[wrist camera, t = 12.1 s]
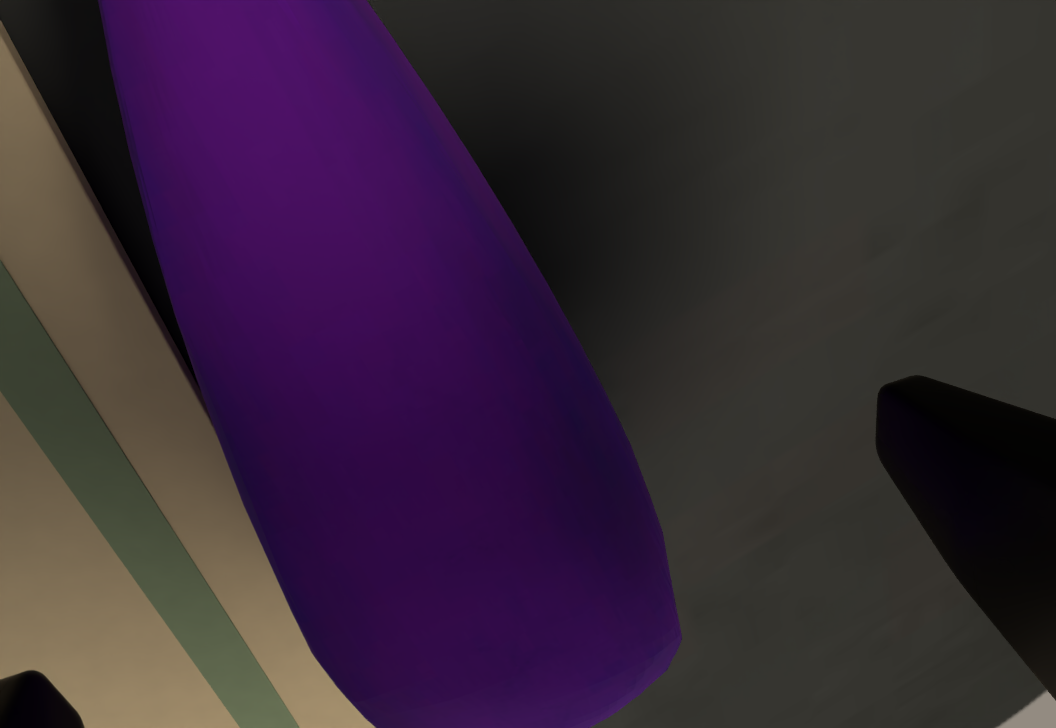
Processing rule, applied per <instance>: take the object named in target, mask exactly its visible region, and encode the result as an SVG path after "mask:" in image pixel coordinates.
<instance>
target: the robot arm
mask: <svg viewBox="0 0 1056 728" xmlns="http://www.w3.org/2000/svg"><path fill="white" fill-rule="evenodd" d="M876 449H877V453H878V456H879V458H880V461H881V463H882V464H883V466H884V468H885V469H886V471H887V472H888V474H889V475H890V477H891V478H892V480H893V482H894V483H895V485H896V486H897V488H898V489H899V491H900V492H901V494H902V495H903V497H904V499H905V500H906V502H907V503H908V505H909V506H910V508H911V509H912V511H913V512H914V514H915V515H916V517H917V519H918V520H919V522H920V523H921V525H922V526H923V528H924V529H925V531H926V532H927V534H928V536H929V537H930V539H931V540H932V542H933V543H934V545H935V546H936V548H937V549H938V551H939V552H940V554H941V556H942V557H943V559H944V560H945V562H946V563H947V565H948V566H949V567H950V569H951V570H952V572H953V573H954V575H955V576H956V578H957V579H958V580H959V581H960V583H961V584H962V585H963V587H964V588H965V589H966V591H967V592H968V593H969V594H970V596H971V597H972V598H973V599H974V601H975V602H976V603H977V604H978V606H979V607H980V608H981V609H982V611H983V612H984V613H985V614H986V615H987V617H988V618H989V619H990V620H991V622H992V623H993V624H994V625H995V626H996V628H997V629H998V630H999V631H1000V633H1001V634H1002V635H1003V636H1004V638H1005V639H1006V640H1007V641H1008V642H1009V644H1010V645H1011V646H1012V647H1013V649H1014V650H1015V651H1016V652H1017V654H1018V655H1019V656H1020V657H1021V658H1022V660H1023V661H1024V662H1025V663H1026V665H1027V666H1028V667H1029V668H1030V670H1031V671H1032V672H1033V673H1034V674H1035V676H1036V677H1037V678H1038V679H1039V681H1040V682H1041V683H1042V684H1043V685H1044V687H1045V688H1046V689H1047V690H1048V692H1049V693H1050V694H1051V695H1052V697H1053V698H1054V699H1055V700H1056V419H1054V418H1051V417H1048V416H1044V415H1041V414H1038V413H1035V412H1032V411H1029V410H1026V409H1023V408H1020V407H1017V406H1014V405H1011V404H1008V403H1005V402H1001V401H998V400H995V399H992V398H989V397H986V396H983V395H980V394H977V393H974V392H971V391H968V390H965V389H962V388H959V387H955V386H952V385H949V384H946V383H943V382H940V381H937V380H934V379H931V378H928V377H924V376H920V375H914V376H909V377H906V378H903V379H900V380H897V381H894V382H891V383H888V384H886V385H884V386H883V387H881V389H880V391H879V393H878V398H877V417H876ZM0 728H85V727H84V724H83V721H82V719H81V717H80V715H79V714H78V712H77V711H76V710H75V709H74V707H73V706H72V705H71V704H70V703H69V702H68V701H67V700H66V699H65V697H64V696H63V695H62V694H61V693H60V692H59V691H58V690H57V688H56V687H55V686H54V685H53V684H52V683H51V682H50V681H49V679H48V678H47V677H46V676H45V675H44V674H42V673H41V672H38V671H36V670H27V671H24V672H21V673H18V674H15V675H12V676H9V677H6V678H3V679H0Z"/></svg>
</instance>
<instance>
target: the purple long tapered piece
mask: <svg viewBox="0 0 1056 728" xmlns="http://www.w3.org/2000/svg"><path fill="white" fill-rule="evenodd" d="M98 4H99V9H100V14H101V19H102V24H103V29H104V35H105V40H106V46H107V51H108V57H109V62H110V68H111V72H112V77H113V81H114V86H115V90H116V94H117V99H118V103H119V108H120V112H121V117H122V121H123V126H124V130H125V134H126V139H127V143H128V148H129V152H130V157H131V160H132V164H133V168H134V172H135V175H136V179H137V183H138V187H139V191H140V194H141V198H142V202H143V206H144V210H145V213H146V217H147V221H148V225H149V229H150V232H151V236H152V240H153V243H154V247H155V250H156V253H157V257H158V260H159V263H160V267H161V270H162V273H163V277H164V280H165V284H166V287H167V290H168V294H169V297H170V300H171V304H172V307H173V311H174V314H175V317H176V320H177V322H178V325H179V328H180V331H181V334H182V337H183V340H184V343H185V346H186V349H187V352H188V355H189V358H190V361H191V364H192V367H193V370H194V373H195V376H196V379H197V381H198V384H199V387H200V390H201V393H202V395H203V398H204V401H205V404H206V406H207V409H208V412H209V415H210V417H211V420H212V423H213V426H214V428H215V431H216V434H217V437H218V440H219V442H220V445H221V448H222V450H223V453H224V456H225V458H226V461H227V463H228V466H229V469H230V471H231V474H232V476H233V479H234V482H235V484H236V487H237V489H238V492H239V495H240V497H241V500H242V502H243V505H244V507H245V510H246V512H247V514H248V516H249V518H250V521H251V523H252V525H253V527H254V530H255V532H256V534H257V536H258V538H259V541H260V543H261V545H262V547H263V550H264V552H265V554H266V556H267V558H268V561H269V563H270V565H271V567H272V570H273V572H274V574H275V576H276V579H277V581H278V583H279V585H280V587H281V590H282V592H283V594H284V596H285V599H286V601H287V603H288V605H289V607H290V610H291V612H292V614H293V616H294V618H295V620H296V622H297V624H298V626H299V628H300V630H301V632H302V634H303V636H304V638H305V640H306V643H307V645H308V647H309V649H310V651H311V653H312V654H313V656H314V657H315V659H316V660H317V661H318V663H319V664H320V665H321V667H322V668H323V669H324V671H325V672H326V673H327V675H328V676H329V677H330V678H331V680H332V681H333V682H334V684H335V685H336V686H337V688H338V689H339V690H340V691H341V692H342V694H343V695H344V696H345V697H346V698H347V699H348V700H349V701H350V702H351V703H352V705H353V706H354V707H355V708H356V709H357V710H358V711H359V712H360V713H361V714H362V715H363V717H364V718H365V719H366V720H367V721H369V722H370V723H371V724H372V725H373V726H374V727H376V728H590V727H592V726H594V725H595V724H597V723H599V722H601V721H603V720H604V719H606V718H608V717H610V716H611V715H613V714H614V713H616V712H617V711H618V710H620V709H621V708H622V707H624V706H625V705H626V704H627V703H629V702H630V701H631V700H633V699H634V698H636V697H637V696H638V695H640V694H641V693H642V692H643V691H644V690H645V689H646V688H647V687H648V686H649V685H650V684H652V683H653V682H654V681H655V680H656V679H657V678H658V677H659V676H661V675H662V674H663V673H664V672H665V671H666V670H667V669H668V667H669V665H670V662H671V660H672V659H673V657H674V655H675V654H676V652H677V649H678V647H679V645H680V643H681V640H682V635H681V629H680V624H679V619H678V614H677V609H676V604H675V599H674V593H673V588H672V583H671V577H670V572H669V566H668V560H667V554H666V549H665V543H664V537H663V532H662V529H661V526H660V523H659V520H658V518H657V515H656V512H655V509H654V506H653V503H652V500H651V497H650V495H649V492H648V490H647V487H646V484H645V482H644V479H643V476H642V474H641V471H640V468H639V466H638V463H637V460H636V458H635V455H634V452H633V450H632V447H631V445H630V442H629V440H628V438H627V436H626V434H625V432H624V430H623V428H622V426H621V424H620V421H619V419H618V417H617V415H616V413H615V411H614V409H613V407H612V405H611V403H610V401H609V398H608V396H607V394H606V392H605V390H604V388H603V387H602V385H601V383H600V381H599V379H598V377H597V375H596V373H595V371H594V369H593V367H592V366H591V364H590V362H589V360H588V358H587V356H586V354H585V352H584V350H583V348H582V346H581V344H580V342H579V340H578V338H577V336H576V334H575V333H574V331H573V329H572V327H571V326H570V324H569V322H568V320H567V318H566V317H565V315H564V313H563V311H562V309H561V307H560V306H559V304H558V302H557V300H556V298H555V297H554V295H553V293H552V291H551V289H550V287H549V286H548V284H547V282H546V280H545V279H544V277H543V275H542V273H541V272H540V270H539V268H538V267H537V265H536V263H535V262H534V260H533V258H532V256H531V255H530V253H529V251H528V249H527V248H526V246H525V244H524V243H523V241H522V239H521V237H520V236H519V234H518V232H517V230H516V229H515V227H514V225H513V223H512V222H511V220H510V218H509V217H508V215H507V214H506V212H505V210H504V209H503V207H502V206H501V204H500V202H499V201H498V199H497V197H496V196H495V194H494V192H493V191H492V189H491V188H490V186H489V184H488V183H487V181H486V179H485V178H484V176H483V174H482V173H481V171H480V169H479V168H478V166H477V165H476V163H475V161H474V160H473V158H472V157H471V155H470V154H469V152H468V150H467V149H466V147H465V146H464V144H463V143H462V141H461V140H460V138H459V137H458V135H457V133H456V132H455V130H454V129H453V127H452V126H451V124H450V123H449V121H448V119H447V118H446V116H445V115H444V113H443V112H442V110H441V109H440V107H439V105H438V104H437V102H436V101H435V99H434V98H433V96H432V95H431V93H430V92H429V91H428V89H427V88H426V86H425V85H424V83H423V82H422V80H421V79H420V77H419V76H418V74H417V73H416V71H415V70H414V68H413V67H412V65H411V64H410V62H409V61H408V59H407V58H406V57H405V55H404V54H403V52H402V51H401V49H400V48H399V46H398V45H397V43H396V42H395V40H394V39H393V37H392V36H391V34H390V33H389V31H388V30H387V29H386V27H385V26H384V24H383V23H382V22H381V20H380V19H379V17H378V16H377V14H376V13H375V12H374V10H373V9H372V7H371V6H370V5H369V3H368V2H367V0H98Z"/></svg>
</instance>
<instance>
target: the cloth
mask: <svg viewBox="0 0 1056 728" xmlns="http://www.w3.org/2000/svg"><path fill="white" fill-rule="evenodd" d="M27 670H36V671H38V672H41V673H42V674H44V675H45V676H46V677H47V678H48V679H49V681H50V682H51V683H52V684H53V685H54V686H55V687H56V688H57V690H58V691H59V692H60V693H61V694H62V695H63V696H64V697H65V699H66V700H67V701H68V702H69V703H70V704H71V705H72V706H73V707H74V709H75V710H76V711H77V712H78V714H79V715H80V717H81V719H82V721H83V724H84V727H85V728H376V727H374V726H373V725H372V724H371V723H370V722H369V721H367V720H366V719H365V718H364V717H363V715H362V714H361V713H360V712H359V711H358V710H357V709H356V708H355V707H354V706H353V705H352V703H351V702H350V701H349V700H348V699H347V698H346V697H345V696H344V695H343V694H342V692H341V691H340V690H339V689H338V688H337V686H336V685H335V684H334V682H333V681H332V680H331V678H330V677H329V676H328V675H327V673H326V672H325V671H324V669H323V668H322V667H321V665H320V664H319V663H318V661H317V660H316V659H315V657H314V656H313V654H312V653H311V651H310V649H309V647H308V645H307V643H306V640H305V638H304V636H303V634H302V632H301V630H300V628H299V626H298V624H297V622H296V620H295V618H294V616H293V614H292V612H291V610H290V607H289V605H288V603H287V601H286V599H285V596H284V594H283V592H282V590H281V587H280V585H279V583H278V581H277V579H276V576H275V574H274V572H273V570H272V567H271V565H270V563H269V561H268V558H267V556H266V554H265V552H264V550H263V547H262V545H261V543H260V541H259V538H258V536H257V534H256V532H255V530H254V527H253V525H252V523H251V521H250V518H249V516H248V514H247V512H246V510H245V507H244V505H243V502H242V500H241V497H240V495H239V492H238V489H237V487H236V484H235V482H234V479H233V476H232V474H231V471H230V469H229V466H228V463H227V461H226V458H225V456H224V453H223V450H222V448H221V445H220V442H219V440H218V437H217V434H216V431H215V428H214V426H213V423H212V420H211V417H210V415H209V412H208V409H207V406H206V404H205V401H204V398H203V395H202V393H201V391H200V389H199V387H198V385H197V383H196V382H195V380H194V378H193V376H192V374H191V372H190V370H189V369H188V367H187V365H186V363H185V361H184V359H183V357H182V356H181V354H180V352H179V350H178V348H177V346H176V344H175V343H174V341H173V339H172V337H171V335H170V333H169V331H168V330H167V328H166V326H165V324H164V322H163V320H162V318H161V317H160V315H159V313H158V311H157V309H156V307H155V306H154V304H153V302H152V300H151V298H150V296H149V294H148V293H147V291H146V289H145V287H144V285H143V283H142V281H141V280H140V278H139V276H138V274H137V272H136V270H135V268H134V267H133V265H132V263H131V261H130V259H129V257H128V255H127V254H126V252H125V250H124V248H123V246H122V244H121V242H120V241H119V239H118V237H117V235H116V233H115V231H114V230H113V228H112V226H111V224H110V222H109V220H108V218H107V217H106V215H105V213H104V211H103V209H102V207H101V205H100V204H99V202H98V200H97V198H96V196H95V194H94V192H93V191H92V189H91V187H90V185H89V183H88V181H87V179H86V178H85V176H84V174H83V172H82V170H81V168H80V166H79V165H78V163H77V161H76V159H75V157H74V155H73V153H72V152H71V150H70V148H69V146H68V144H67V142H66V141H65V139H64V137H63V135H62V133H61V131H60V129H59V128H58V126H57V124H56V122H55V120H54V118H53V116H52V115H51V113H50V111H49V109H48V107H47V105H46V103H45V102H44V100H43V98H42V96H41V94H40V92H39V90H38V89H37V87H36V85H35V83H34V81H33V79H32V77H31V76H30V74H29V72H28V70H27V68H26V66H25V65H24V63H23V61H22V59H21V57H20V55H19V53H18V52H17V50H16V48H15V46H14V44H13V42H12V40H11V39H10V37H9V35H8V33H7V31H6V29H5V27H4V26H3V24H2V22H1V20H0V679H3V678H6V677H9V676H12V675H15V674H18V673H21V672H24V671H27Z"/></svg>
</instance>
